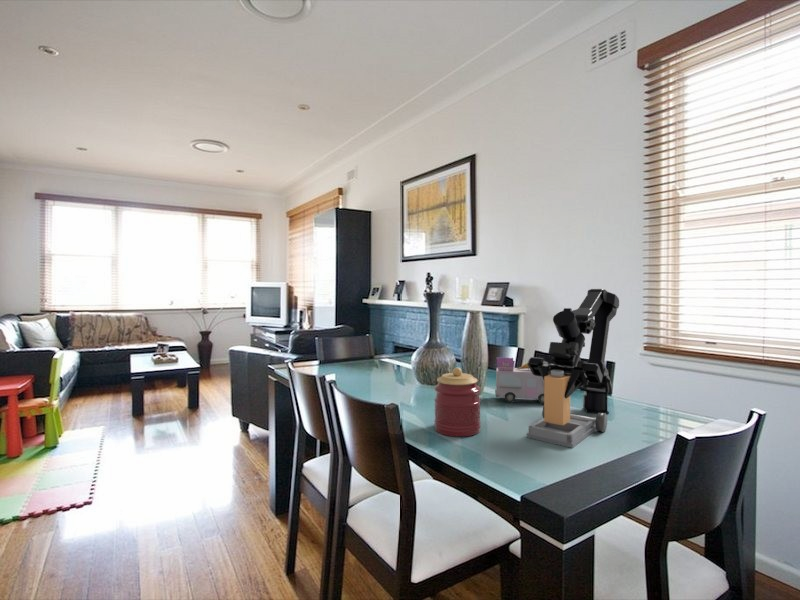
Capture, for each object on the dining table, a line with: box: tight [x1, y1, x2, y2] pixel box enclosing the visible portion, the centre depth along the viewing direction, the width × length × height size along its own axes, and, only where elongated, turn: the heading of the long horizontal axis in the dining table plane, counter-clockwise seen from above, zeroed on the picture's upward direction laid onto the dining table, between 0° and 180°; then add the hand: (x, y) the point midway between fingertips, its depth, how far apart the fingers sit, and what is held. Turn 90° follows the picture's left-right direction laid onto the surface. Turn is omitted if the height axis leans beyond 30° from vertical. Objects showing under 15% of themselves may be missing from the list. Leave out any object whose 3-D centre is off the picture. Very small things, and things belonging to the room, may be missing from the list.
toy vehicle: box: [494, 356, 544, 405], centre depth 151 cm, size 9×20×15 cm, turn 78°
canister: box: [433, 366, 482, 438], centre depth 120 cm, size 13×13×18 cm
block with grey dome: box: [543, 370, 571, 425], centre depth 114 cm, size 5×5×14 cm
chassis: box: [526, 406, 608, 449], centre depth 118 cm, size 22×17×5 cm
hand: (555, 395), depth 113 cm, fingers closed on block with grey dome, 5 cm apart
